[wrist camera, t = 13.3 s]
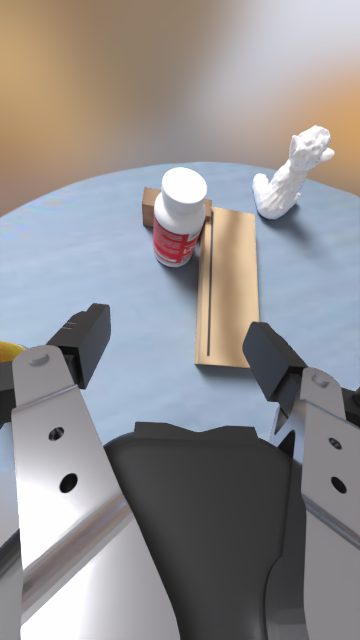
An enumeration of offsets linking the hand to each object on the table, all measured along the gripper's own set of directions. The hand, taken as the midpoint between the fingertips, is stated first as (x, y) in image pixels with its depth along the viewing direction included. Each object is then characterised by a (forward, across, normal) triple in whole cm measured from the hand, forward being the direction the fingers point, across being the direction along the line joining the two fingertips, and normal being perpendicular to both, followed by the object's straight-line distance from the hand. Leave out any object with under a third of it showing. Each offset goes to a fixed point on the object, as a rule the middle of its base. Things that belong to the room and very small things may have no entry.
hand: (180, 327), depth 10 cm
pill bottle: (+22, 0, 0) cm, 22 cm away
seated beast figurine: (+31, -17, -9) cm, 37 cm away
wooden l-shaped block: (+18, -3, +3) cm, 19 cm away
